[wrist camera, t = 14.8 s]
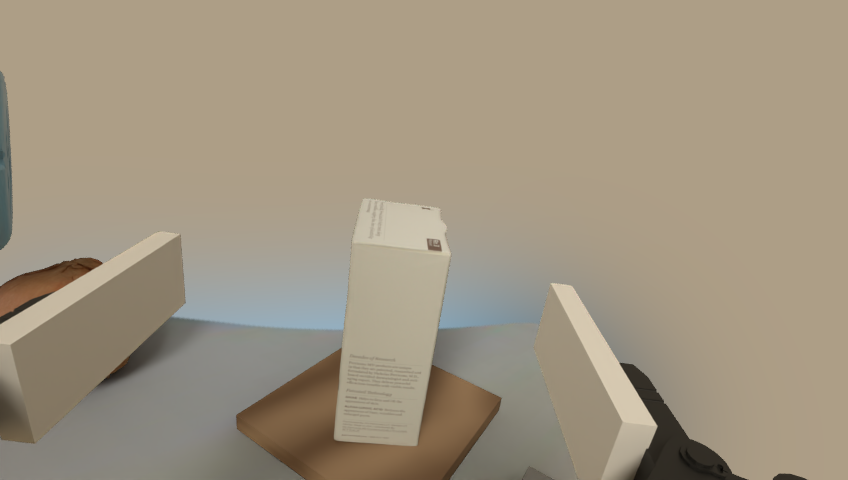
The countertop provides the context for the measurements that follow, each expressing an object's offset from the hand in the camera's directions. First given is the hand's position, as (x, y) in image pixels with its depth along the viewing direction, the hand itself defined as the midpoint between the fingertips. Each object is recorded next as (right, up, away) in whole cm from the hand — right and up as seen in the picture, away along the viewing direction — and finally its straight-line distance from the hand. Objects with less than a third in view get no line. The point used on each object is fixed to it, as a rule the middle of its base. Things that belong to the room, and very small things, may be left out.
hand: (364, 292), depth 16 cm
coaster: (-1, -12, +18) cm, 21 cm away
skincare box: (-1, -11, +17) cm, 21 cm away
